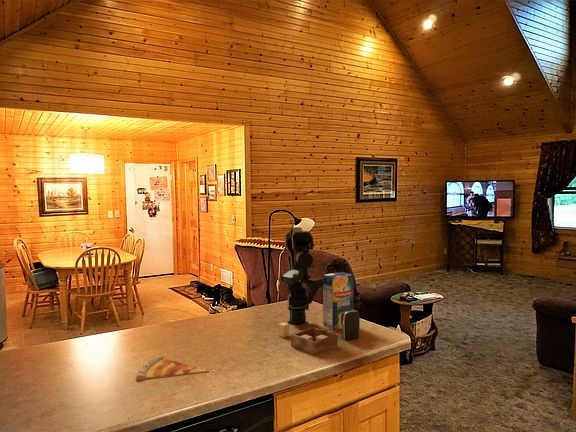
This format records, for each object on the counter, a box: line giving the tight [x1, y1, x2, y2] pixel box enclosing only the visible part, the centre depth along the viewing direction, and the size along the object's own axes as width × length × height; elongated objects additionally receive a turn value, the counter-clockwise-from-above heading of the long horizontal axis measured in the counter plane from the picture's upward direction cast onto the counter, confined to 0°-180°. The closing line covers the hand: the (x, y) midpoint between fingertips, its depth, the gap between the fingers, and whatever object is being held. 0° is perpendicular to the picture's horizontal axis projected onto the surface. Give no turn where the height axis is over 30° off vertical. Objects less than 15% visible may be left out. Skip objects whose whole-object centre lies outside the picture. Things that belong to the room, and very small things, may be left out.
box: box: [290, 326, 338, 356], centre depth 160 cm, size 12×12×5 cm
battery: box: [341, 309, 361, 342], centre depth 168 cm, size 7×4×11 cm, turn 118°
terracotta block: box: [300, 335, 312, 340], centre depth 160 cm, size 4×4×4 cm
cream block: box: [316, 335, 328, 341], centre depth 160 cm, size 4×4×4 cm
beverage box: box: [322, 271, 355, 330], centre depth 183 cm, size 7×11×22 cm, turn 121°
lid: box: [277, 321, 290, 338], centre depth 171 cm, size 13×13×6 cm
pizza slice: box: [135, 354, 210, 381], centre depth 138 cm, size 16×22×2 cm
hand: (301, 301), depth 175 cm, fingers open, 9 cm apart
